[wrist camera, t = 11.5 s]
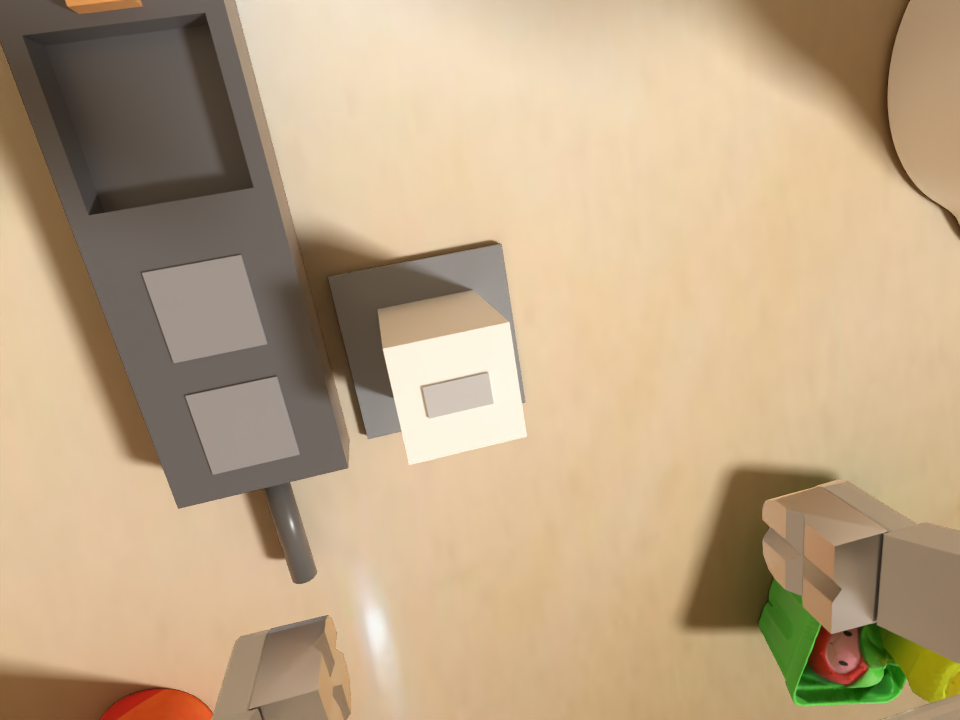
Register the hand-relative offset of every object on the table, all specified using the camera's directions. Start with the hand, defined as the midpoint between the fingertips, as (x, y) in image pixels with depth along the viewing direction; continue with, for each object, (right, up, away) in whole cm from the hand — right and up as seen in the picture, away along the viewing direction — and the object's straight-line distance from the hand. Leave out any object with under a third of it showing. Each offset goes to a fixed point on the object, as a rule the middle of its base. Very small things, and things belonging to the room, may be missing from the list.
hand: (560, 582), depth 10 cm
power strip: (-12, +6, +15) cm, 20 cm away
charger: (-4, +5, +17) cm, 18 cm away
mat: (-4, +5, +17) cm, 18 cm away
